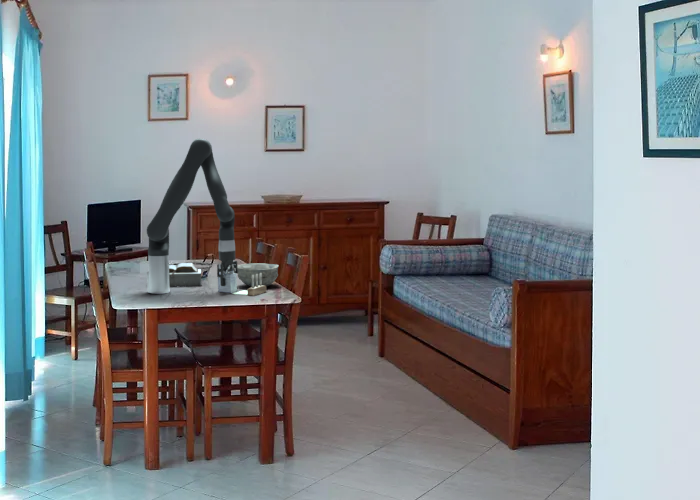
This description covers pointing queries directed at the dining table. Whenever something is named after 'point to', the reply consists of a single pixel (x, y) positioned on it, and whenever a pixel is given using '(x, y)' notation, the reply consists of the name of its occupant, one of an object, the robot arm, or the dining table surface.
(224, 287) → the medicine box
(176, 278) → the grey rectangular bin
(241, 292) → the pad
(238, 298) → the dining table surface
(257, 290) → the pin strip
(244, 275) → the bowl
